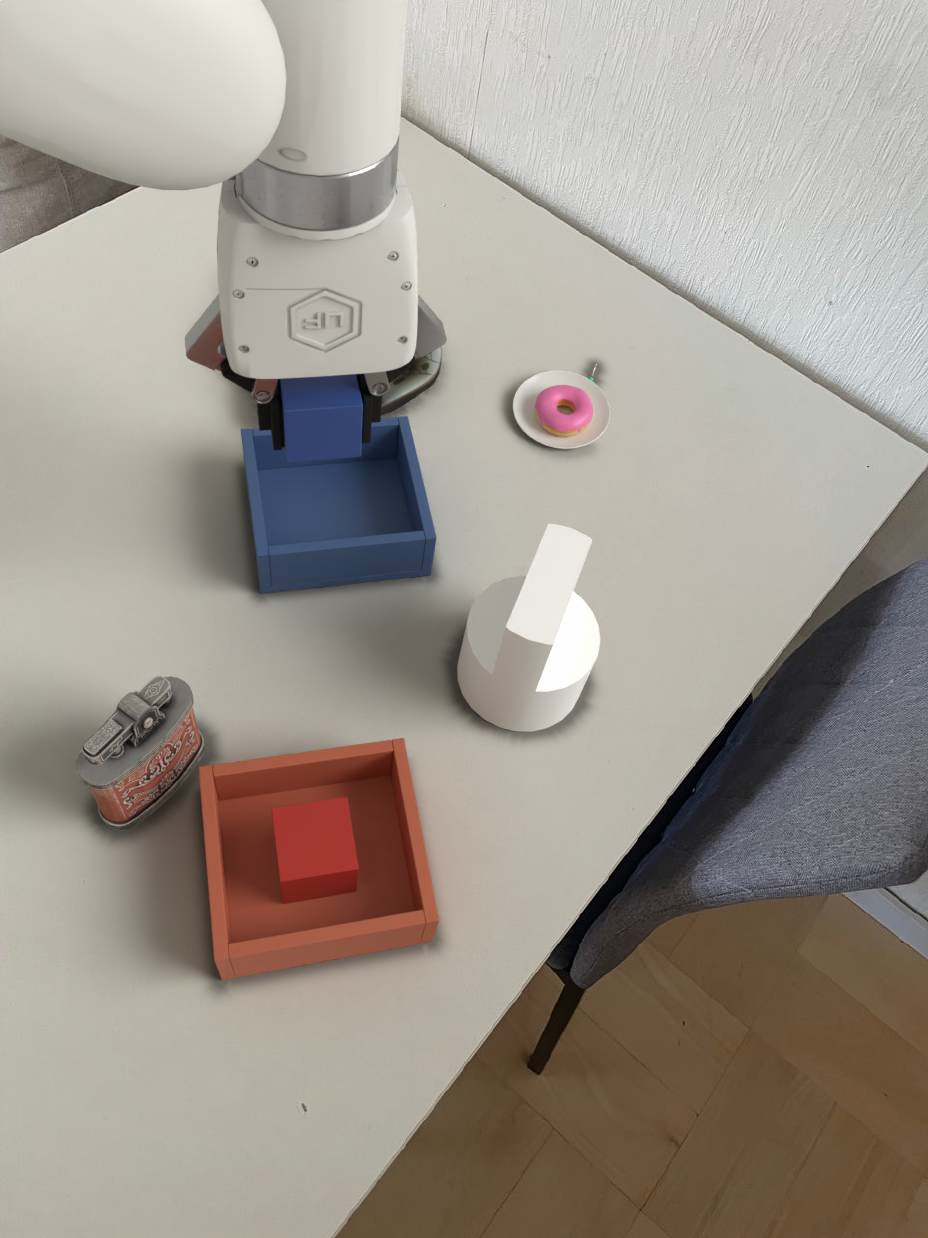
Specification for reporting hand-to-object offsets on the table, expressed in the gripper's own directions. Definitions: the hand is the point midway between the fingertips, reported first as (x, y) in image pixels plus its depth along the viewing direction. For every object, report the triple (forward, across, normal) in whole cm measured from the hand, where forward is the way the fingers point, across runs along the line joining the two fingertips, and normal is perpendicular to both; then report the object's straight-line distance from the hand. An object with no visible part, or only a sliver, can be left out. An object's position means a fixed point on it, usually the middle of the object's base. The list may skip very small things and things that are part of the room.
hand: (319, 427), depth 62 cm
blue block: (0, 0, 0) cm, 0 cm away
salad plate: (+16, +4, +21) cm, 27 cm away
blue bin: (+16, +2, +4) cm, 16 cm away
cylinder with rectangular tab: (+16, +13, -11) cm, 23 cm away
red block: (+15, -3, -22) cm, 27 cm away
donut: (+16, +23, +14) cm, 31 cm away
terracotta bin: (+16, -3, -22) cm, 27 cm away
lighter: (+16, -13, -15) cm, 25 cm away
